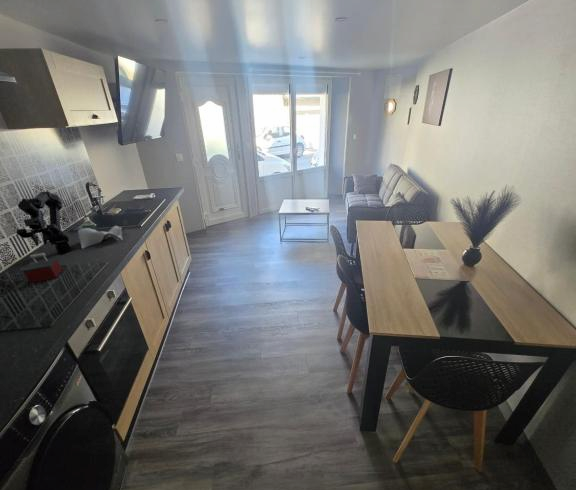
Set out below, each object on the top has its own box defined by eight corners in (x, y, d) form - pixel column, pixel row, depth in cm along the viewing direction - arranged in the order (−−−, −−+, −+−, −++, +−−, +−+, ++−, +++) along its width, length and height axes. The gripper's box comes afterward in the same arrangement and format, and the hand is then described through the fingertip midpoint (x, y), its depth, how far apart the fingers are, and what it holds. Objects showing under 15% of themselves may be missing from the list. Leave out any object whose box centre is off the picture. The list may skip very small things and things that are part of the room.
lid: (31, 263, 160) (25, 254, 157) (57, 258, 163) (51, 249, 160) (23, 272, 152) (17, 262, 149) (50, 267, 154) (44, 257, 151)
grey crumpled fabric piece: (126, 232, 210) (121, 219, 205) (123, 242, 195) (117, 227, 190) (87, 239, 204) (81, 225, 199) (81, 249, 189) (74, 235, 184)
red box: (37, 274, 164) (31, 263, 160) (62, 269, 166) (56, 259, 163) (30, 282, 155) (23, 272, 152) (56, 277, 158) (50, 267, 154)
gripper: (7, 214, 155) (10, 242, 153) (47, 209, 159) (51, 235, 157) (22, 224, 166) (25, 250, 163) (59, 219, 170) (63, 244, 167)
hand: (41, 245), depth 162 cm, fingers open, 3 cm apart
